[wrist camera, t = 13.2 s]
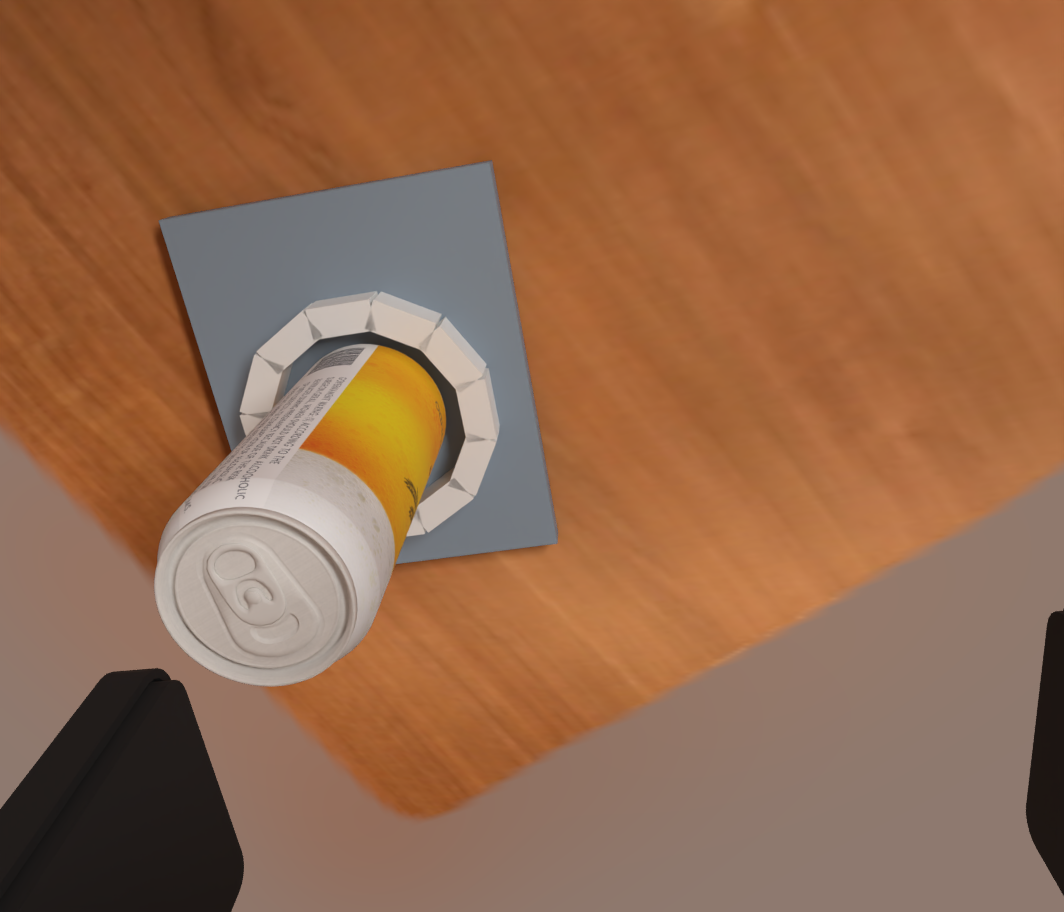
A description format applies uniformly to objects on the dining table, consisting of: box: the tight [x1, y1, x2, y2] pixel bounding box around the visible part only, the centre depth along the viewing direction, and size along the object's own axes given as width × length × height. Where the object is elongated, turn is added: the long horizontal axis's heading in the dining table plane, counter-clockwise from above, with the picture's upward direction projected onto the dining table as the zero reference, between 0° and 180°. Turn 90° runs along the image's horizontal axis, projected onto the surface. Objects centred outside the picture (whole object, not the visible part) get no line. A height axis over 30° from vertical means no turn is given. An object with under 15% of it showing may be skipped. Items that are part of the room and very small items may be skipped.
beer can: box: [154, 344, 446, 686], centre depth 30 cm, size 6×6×15 cm
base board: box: [159, 160, 558, 564], centre depth 37 cm, size 16×13×2 cm
